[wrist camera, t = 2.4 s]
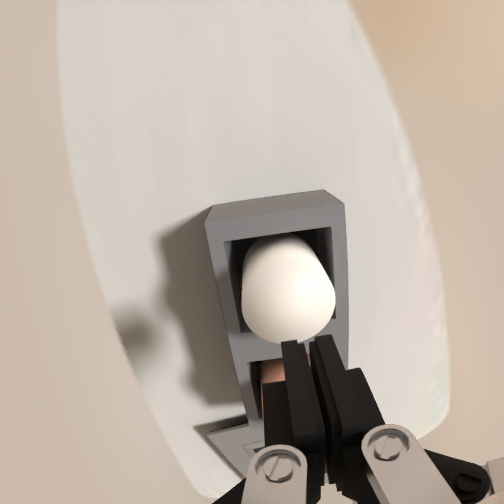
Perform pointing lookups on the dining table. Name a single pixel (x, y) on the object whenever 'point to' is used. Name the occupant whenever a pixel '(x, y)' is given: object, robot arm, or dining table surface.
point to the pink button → (272, 371)
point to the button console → (221, 250)
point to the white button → (285, 289)
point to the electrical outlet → (240, 445)
